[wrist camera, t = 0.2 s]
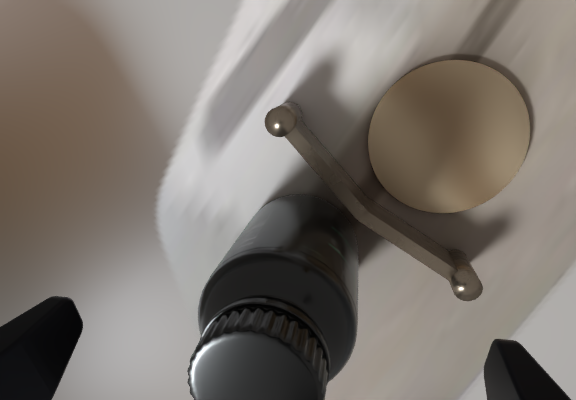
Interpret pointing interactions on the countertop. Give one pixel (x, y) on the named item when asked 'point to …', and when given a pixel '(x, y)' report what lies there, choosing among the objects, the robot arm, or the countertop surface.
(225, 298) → the supplement bottle
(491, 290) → the countertop surface
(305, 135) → the bent rail
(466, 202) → the cork coaster
